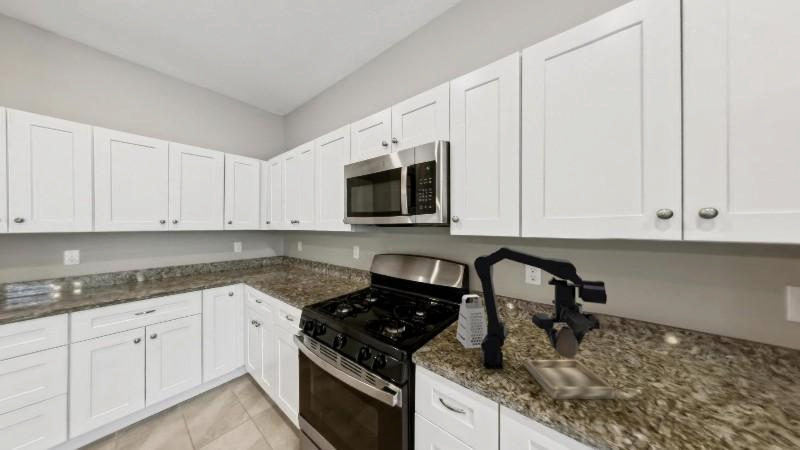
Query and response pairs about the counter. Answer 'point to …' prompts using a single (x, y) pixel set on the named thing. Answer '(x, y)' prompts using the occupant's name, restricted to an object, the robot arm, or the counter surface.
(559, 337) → the vase
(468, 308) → the grater
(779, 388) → the counter surface
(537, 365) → the tray
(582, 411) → the counter surface
